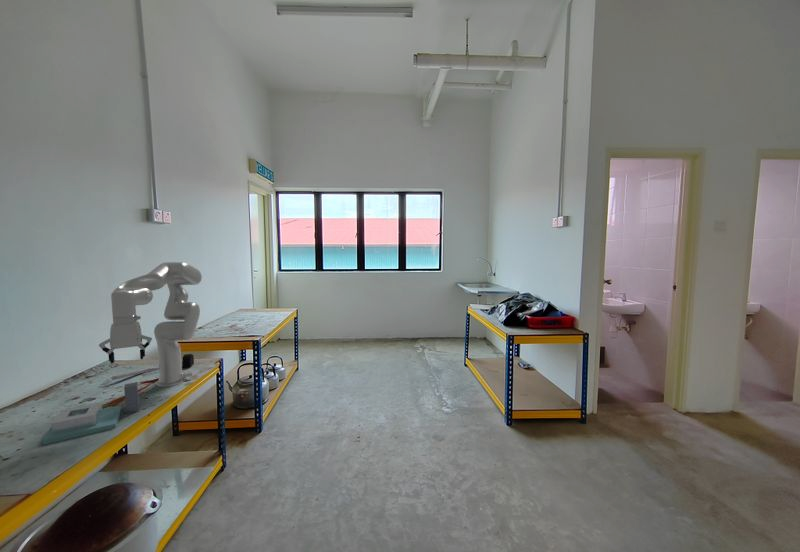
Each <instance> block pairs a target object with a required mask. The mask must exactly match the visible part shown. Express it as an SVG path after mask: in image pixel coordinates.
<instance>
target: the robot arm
mask: <svg viewBox="0 0 800 552" xmlns="http://www.w3.org/2000/svg"><path fill="white" fill-rule="evenodd" d="M202 278H203V277H202V273H201V272H200V270H199V269H198V268H196V267H194V266H193V265H191V264H189V263H187V262H183V261H182V262H181V261H178V262H177V261H171V262H170V261H168V262H167V261H166V262H162V263H160V264H159V265H157V266H156V267H155V268H153V269H152V270H151V271H149V272H148V273H146V274H143V275H140V276H138V277H134V278H132V279H129V280H126V281H124V282H122V283H121V284H119V285H118V286H117V287H116V288H115V289H114V290H113V291H112V293H111V294H110V296H111V312H112V314H111V315H112V323H111V325H110V330H109V333H110V334H109V338H107V339H106V340H103V341H101V342H100V343H99V344H98V347H99V348H100V349H101V350H102V352H105V353H106V354H107V355H108V361H109V362H110V364H111V365H112V364H113V363H115V353H114V351H115V350H117V349H126V348H135V347H138V348H139V349H140V350H139V355H140V357H139V358H140V360H143V359H144V357H145V356H146V351H145V349H146V348H147V347H148V346H150V343H151V342H152V340H153V337H151V336H148V335H144V334H142V329H141V324H140V321H138V320H141V315H137V311H136V309H137V308H136V306H144V305H148V304H149V303H150V302H152V300H153V297H154V293H153V291H156V290H160V289H162V288H163V287H165V286H166V285H167V288H168V290H169V296H168V300H167V302H166V305H165V307H164V313H163V316H164V318H165V319H166V320H167V321H162V322H159V323H158V324H157V323H156V325H155V326H154V330H153V333H154V334H153V335H154V339H155V340H156V346H157V359H158V360H157V361H158V367H159V369H158V371H159V380H158V381H156V383H155V385H156V387H159V388H168V387H169V388H170V387H174V386H178V385H180V384H182V383H184V382H185V381H186V380H187V377H193V371H192V372H191V371H188V372H187V371H186V372H184V369H182V353H181V352H182V350H181V349H182V348H181V345H180V343H179V342H178V341H188V340H191V339H193V337H194V336H195V334H196V329H197V326H198V322H199V319H200V315H201V313H200V312H201V309H200V306H199V304H198V303H196V302H193V301H188V299H189V293H188V291H187V290H186V289H185V287H184V286H194V285H195V286H197V285H199V284H200V283H201V281H202ZM143 340H145V341H146V343H144V344H143ZM107 344H109V348H108V347H107V346H106V345H107Z"/></svg>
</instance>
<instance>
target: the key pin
mask: <svg viewBox="0 0 800 552" xmlns="http://www.w3.org/2000/svg"><path fill="white" fill-rule="evenodd" d="M123 388H124V400H125V404H124V405H125V414H126V415H129V413H130V414H134V413H138V412H139V410H140V400H139V398H140V395H139V385H138V382H137V381H136V382H131V383H125V384H124V387H123Z"/></svg>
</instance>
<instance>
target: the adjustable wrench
mask: <svg viewBox="0 0 800 552" xmlns="http://www.w3.org/2000/svg"><path fill="white" fill-rule="evenodd" d="M158 370H159V366H155V365H152V366H148V367H147V366H146V367H145V368H142V369H138V370H135V371H130V372H126V373H125V372H124V373H122V374H117V375H114V376H113V375H112V376H111V381H114V380H119V379H124V378H127V377H131V376H136V375H139V374H143V373H148V372H153V371H158Z"/></svg>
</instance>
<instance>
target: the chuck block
mask: <svg viewBox="0 0 800 552" xmlns="http://www.w3.org/2000/svg"><path fill="white" fill-rule="evenodd" d="M123 410H124V409H123V404H120V405H116V406H111V407H106V408H105V407H104V408H103V403H102V402H97V403H96V402H95V403H91V404H86V405H82V406H75V407H69V408H66V409H61V410H60V412H59V413H58V414H57V416H55V418H54V420H53V421H52V423H51V426H50V428H49V429H48V431H47V432H46V433H45V435H44V436H43V438H42V439H41V443H42V446H43V445H47V444H51V443H52V444H53V443H58V442H62V441H65V440H70V439H73V438H77V437H78V438H79V437H83V436H86V435H90V434H91V433H92V434H95V432H96V433H99V432H100V433H101V432H103V431H104V430H105V431H109V430H112V429H113V430H114V429H116V428H117V426H116V425H117V424H118V422H119V419H120V418H121V417H120V416H121V414H122V412H121V411H123Z"/></svg>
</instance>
